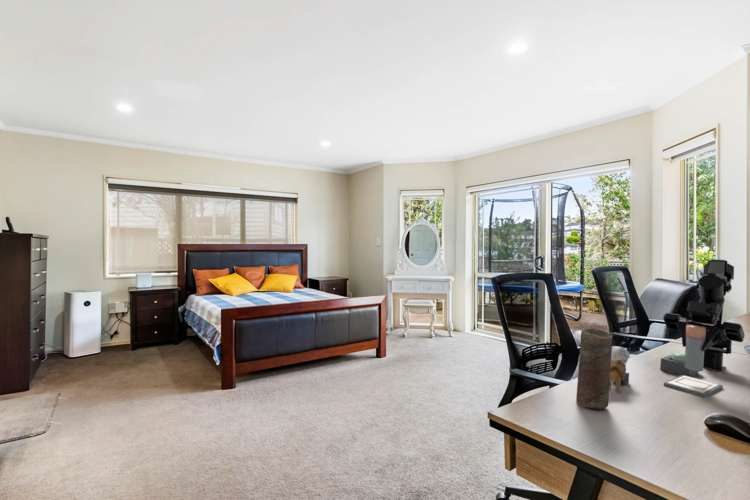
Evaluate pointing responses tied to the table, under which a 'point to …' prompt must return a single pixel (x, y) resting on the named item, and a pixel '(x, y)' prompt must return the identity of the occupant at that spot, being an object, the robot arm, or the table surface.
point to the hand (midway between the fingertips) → (693, 347)
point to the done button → (678, 357)
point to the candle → (594, 368)
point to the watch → (622, 355)
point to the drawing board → (693, 385)
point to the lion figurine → (617, 373)
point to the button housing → (675, 367)
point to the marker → (694, 347)
